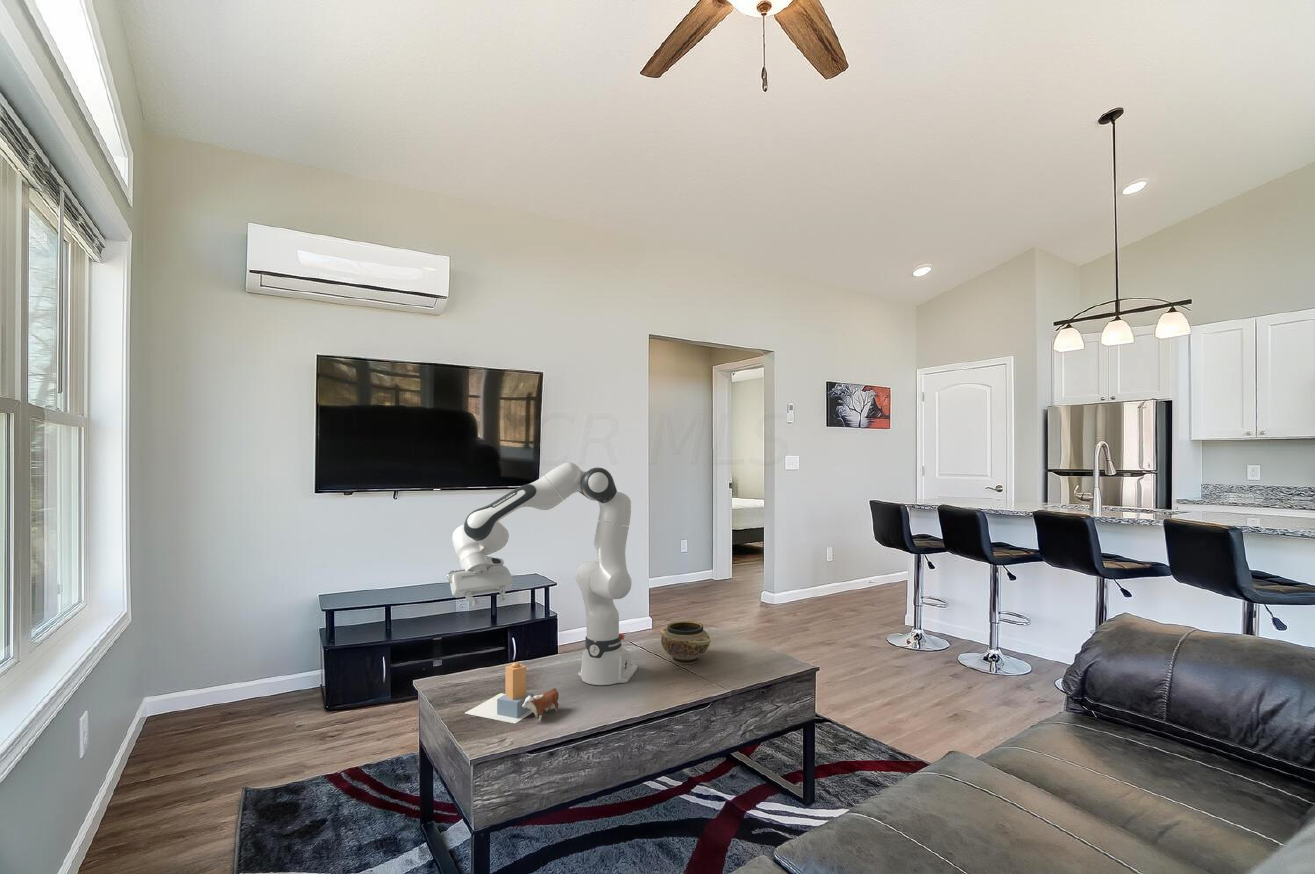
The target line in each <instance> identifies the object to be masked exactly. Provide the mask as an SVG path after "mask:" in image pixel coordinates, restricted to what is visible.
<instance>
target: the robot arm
mask: <svg viewBox="0 0 1315 874" xmlns="http://www.w3.org/2000/svg"><path fill="white" fill-rule="evenodd" d="M575 493H579V494H581V495H582V496H584V497H585V498H587V499H589V500H591V501H595V502H598V503H597V504H598V506H599V515H598V518H597V519H598V520H597V524H596V529H595V534H594V538H593V539H594V540H593V545H594V548H595V550H596V555H597V556H596V557H597V560H592V561H586V562H583V563H581V564H580V565H579V566H578V568H577V569H576V571H575V580H576V584H577V585H578V586H579V588H580V591H581V595H582V599H583V604H584V609H585V615H586V618H585V619H586V620H585V621H586V636H585V639H584V645H585V646H584V648H585V649H584V651H582V658H581V667H580V668H581V670H579V671H578V676H579V677H580V678H581V680H582V682H583V683H586V684H589V685H595V686H608V685H609V686H610V685H615V684H623V683H624V684H625V683H628V682H629V681H630V679H631V678H632V677H633V676H634V674H635V673H636V671H638V665H636V664H635V663H632V658H631V657H632V656H631V652H630V651H629V650H628V649H626V648H625V647H624V646H623V645H622V641H623V640H625V636H626V635H625V633H620V615H619V610H618V609H617V607H616V605H615V603H614V600H620V599H624V598H625V597H627V595H628V594H629V593H630V591H631V589H632V578H631V576H630V573H629V571H628V569H627V567H628V566H627V559H626V550H627V549H626V547H627V541H628V535H629V528H630V523H631V513H632V505H631V504H632V501H631V498H630V497H629V496H628V495H627V494H625V493H624V492H621V491H620V492H619V491H618V489H617V486H616V484H615V480H614V478H613V475H612V474H611V473H610V472H609V471H608V470H607V468H606V469H605V468H602V467H599V466H598V467H597V466H596V467H593V468H590V469H589V470H587V471H583V470H582V469H581V468H580V467H579V466H578V465H577V464H575V463H574V462H571V461H566V462H564V463H561V464H559V465H558V466H557V467H554V468H553V469H551V470H549V471H548V472H547V473H545V474H544V475H542V476H541V477H540V478H538V479H537V480H535V481H533V482H530V483H526V484H523V485H521V486H518V487H516V488H514V489H513V490H511V491H510V492H508V493H506V494H504V495H503V496H501V497H500V498H498V499H497V500H494V501H492V502H491V503H489V504H488V505H485V506H482V507H479V508H477V509H475V510H473V511H472V512H470V513H469V514H468V515H467V516H466V517H465V521H464V524H461V525H460V526H458V527H457V528H456V529H455V530H454V531H453V532H452V538H451V539H452V542H451V543H452V545H453V549H454V552H455V555H456V557H457V558H458V560H459V566H460V569H456V570H450V572H448V573H447V575H446V577H447V581H448V582H449V584H450V585H449V586H450V590H451V594H452V596H453V597H454V598H456V599H458V598H464V597H465V600H467V602H469V603H470V604H471V607H477V606H478V605H479V601H478V598H475V597H473V596H476V595H482V594H489V593H495V592H499V596H498V600H499V602H500V603H502V602H505V601H506V600H507V597H506V595H505V594H506V591H508V590H510V589H511V588H512V586H513V585H514V578H513V576H512V574H511V572H510V570H509V569H508V567H506V566H505V565H504V563H505V562H504V560H503V559H502V558H499V557H492V556H488V555H491V554H493V553H496V552H498V551H500V550H501V549H503V548H505V546H506V544H507V543H508V540H509V537H510V535H509V530H508V529H507V528H506V527H505V526H504V525H503V524H502V523H501V521H500V520H502V519H504V518H505V517H507V516H509V515H511V514H512V513H513V512H515V511H516V510H518V509H521V508H526V507H527V508H534V509H537V510H539V511H548V510H552V509H554V508H555V507H557V506H559V505H560V504H561V503H563V502H564V501H565V500H566V499H567V498H569V497H570V496H572V495H573V494H575Z"/></svg>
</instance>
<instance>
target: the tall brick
mask: <svg viewBox="0 0 1315 874" xmlns="http://www.w3.org/2000/svg"><path fill="white" fill-rule="evenodd" d="M504 670H505V675H504V676H505V679H504V680H505V690H504V691H505V693H504V694H505V696H507V697H509V698H510V699H512V700H514V699H518V698H521V697H525V696H526V692H527V666H526V665H524V664H523V663H522V664H521V662H520V661H518V662H517V661H516V662H513V663H511V664H509V665H505V669H504Z"/></svg>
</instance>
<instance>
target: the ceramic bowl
mask: <svg viewBox="0 0 1315 874" xmlns="http://www.w3.org/2000/svg"><path fill="white" fill-rule="evenodd" d="M659 634H660V635H661V638H660V642H661V643H660V644H661V646H662V648H663V649H664V651H665V652H666V653H667V654H668V655H669V656H670V657H672V660H673V662H674V663H677V664H681V665H692V664H695V663H697V662H698V661H699V657H701V656H702V655H704V654H705V653H706V651H707V650H708V648H709V646H710V644H711V642H712V641H711V639H710V635H709V634H708V632H707V631H706V630H705V629H704V624H703V623H701V622H698V621H694V620H693V621H692V620H678V621H674V622H671V623H668V624H667V626H665V627H663V628H661V629H660V631H659Z"/></svg>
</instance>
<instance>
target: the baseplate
mask: <svg viewBox="0 0 1315 874" xmlns="http://www.w3.org/2000/svg"><path fill="white" fill-rule="evenodd" d="M503 695H505V693H502V692H500V693H499V694H496V695H495V696H493V697H491V698H490V699H489V698H488V700H485V701H483V702H481V703H480V704H479V705H476V706H475V707H473V708H471V709H469V710H467V711H466V712H464V714H465V715H466V714H467V715H471V716H476V717H481V718H486V719H491V720H495V721H501V722H505V723H510V724H517V723H518V722H520V721H521V720H523V719H524V718H526V717H528V716H529V715H531V714H533V712H532V710H530V711H528V712H527V713H525V714H523V715H522V716H520V717H519V718H512V717H507V716H502V715H497V699H498V698H500V697H502V696H503Z"/></svg>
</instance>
